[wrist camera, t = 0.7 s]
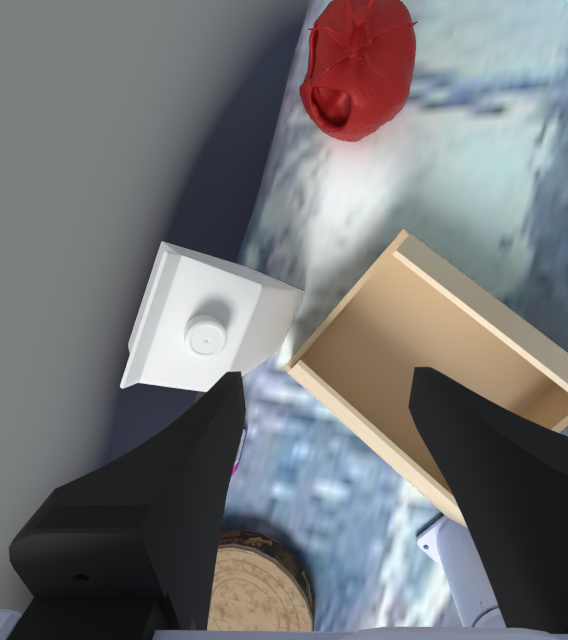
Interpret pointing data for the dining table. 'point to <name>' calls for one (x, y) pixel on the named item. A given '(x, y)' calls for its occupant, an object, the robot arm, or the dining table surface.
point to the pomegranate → (358, 66)
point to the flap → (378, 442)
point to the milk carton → (206, 321)
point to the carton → (419, 356)
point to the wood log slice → (259, 586)
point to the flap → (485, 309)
